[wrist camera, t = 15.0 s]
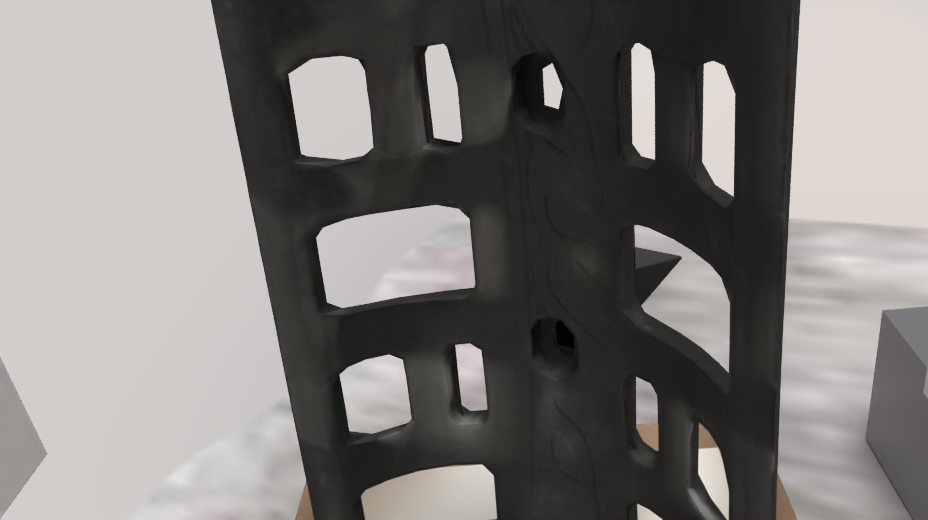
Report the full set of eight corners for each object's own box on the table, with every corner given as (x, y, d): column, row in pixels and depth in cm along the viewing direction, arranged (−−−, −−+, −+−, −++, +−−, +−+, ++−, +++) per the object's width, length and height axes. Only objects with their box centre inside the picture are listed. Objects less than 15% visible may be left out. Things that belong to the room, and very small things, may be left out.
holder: (250, 764, 19) (-37, -256, 11) (384, 535, 25) (266, -203, 17) (767, 917, 15) (904, -456, 7) (767, 603, 21) (837, -293, 14)
